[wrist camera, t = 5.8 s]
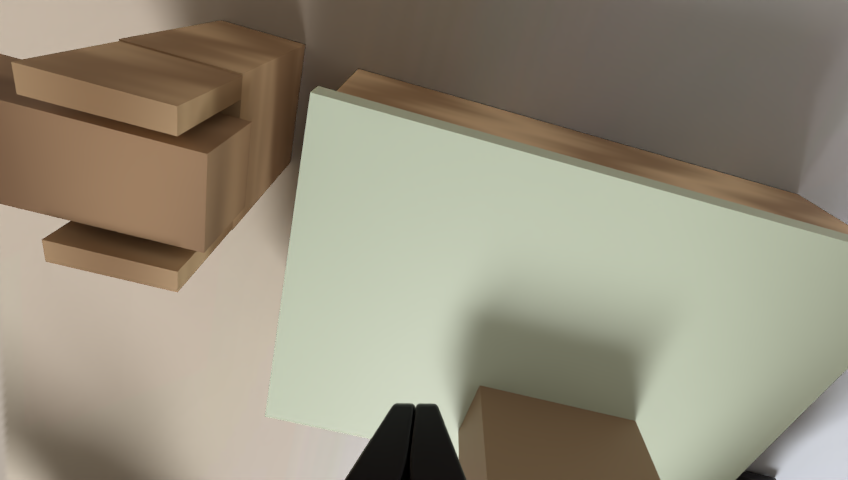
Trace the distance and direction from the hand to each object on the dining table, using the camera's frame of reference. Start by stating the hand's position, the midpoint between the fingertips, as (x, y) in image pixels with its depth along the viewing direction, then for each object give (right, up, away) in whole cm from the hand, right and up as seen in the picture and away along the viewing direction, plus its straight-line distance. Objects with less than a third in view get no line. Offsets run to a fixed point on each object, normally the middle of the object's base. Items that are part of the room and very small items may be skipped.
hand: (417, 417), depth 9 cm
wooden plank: (-9, +7, +3) cm, 11 cm away
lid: (+5, 0, +7) cm, 9 cm away
